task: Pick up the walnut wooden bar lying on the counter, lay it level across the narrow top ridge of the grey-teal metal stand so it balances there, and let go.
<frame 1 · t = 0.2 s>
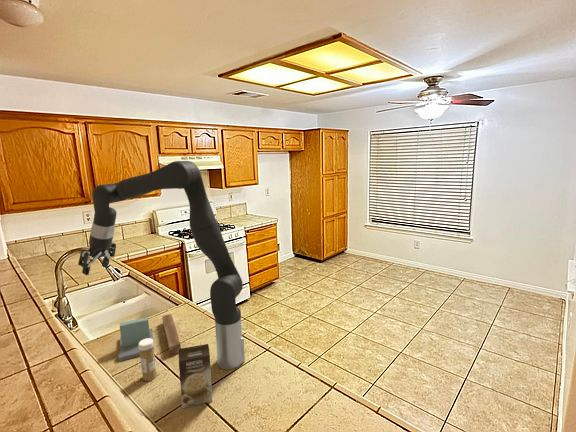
hand: (95, 270, 118), 31 cm above the counter, tool tilted 20°, fingers open, 8 cm apart
coffee box: (197, 398, 93), on the counter
walnut bar: (171, 337, 126), on the counter
ridge stand: (136, 345, 120), on the counter
sprinkles bottle: (149, 377, 103), on the counter
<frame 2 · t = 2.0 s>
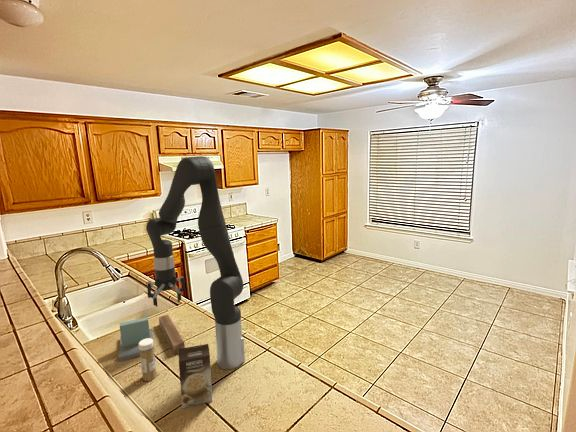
hand: (167, 303, 123), 15 cm above the counter, tool pointing down, fingers open, 8 cm apart
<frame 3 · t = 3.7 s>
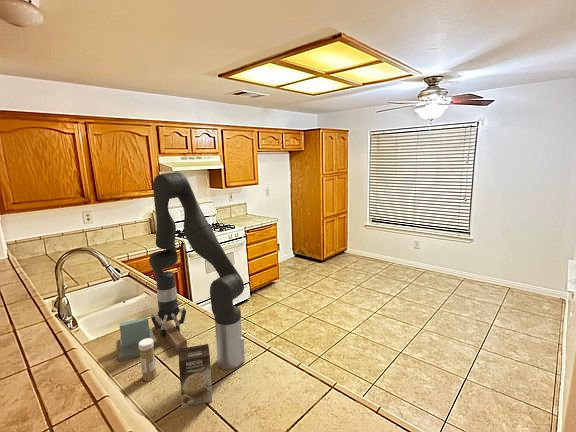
hand: (170, 334, 126), 1 cm above the counter, tool pointing down, fingers closed on walnut bar, 4 cm apart
walnut bar: (171, 336, 126), on the counter, touching gripper
everything else where it was.
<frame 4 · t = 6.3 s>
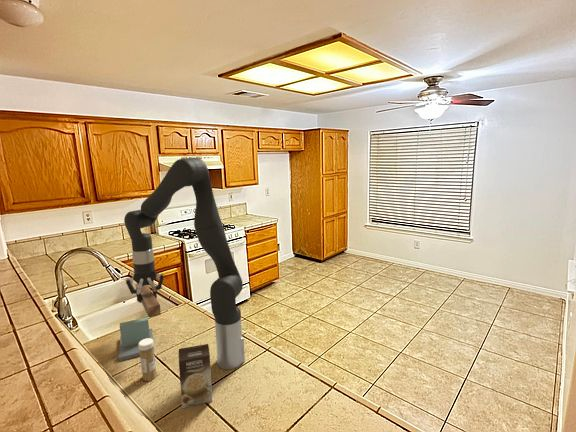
hand: (147, 300, 120), 18 cm above the counter, tool pointing down, fingers closed on walnut bar, 4 cm apart
walnut bar: (147, 302, 120), point 17 cm above the counter, touching gripper
everything else where it was.
when the fingers open (12 cm above the counter, at t = 8.9 s): walnut bar stays where it is, resting on ridge stand.
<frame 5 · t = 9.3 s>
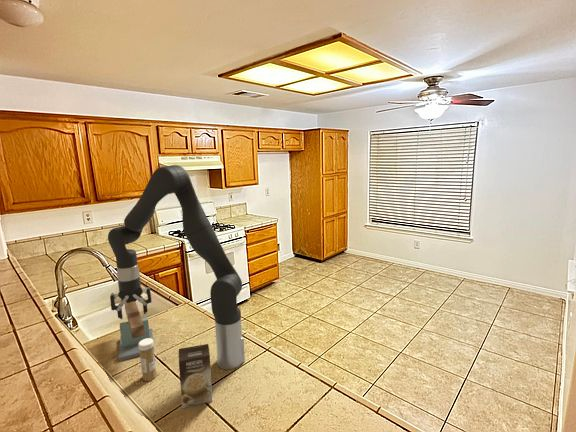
hand: (133, 315, 118), 13 cm above the counter, tool pointing down, fingers open, 8 cm apart
walnut bar: (134, 321, 118), point 10 cm above the counter, touching ridge stand
everything else where it was.
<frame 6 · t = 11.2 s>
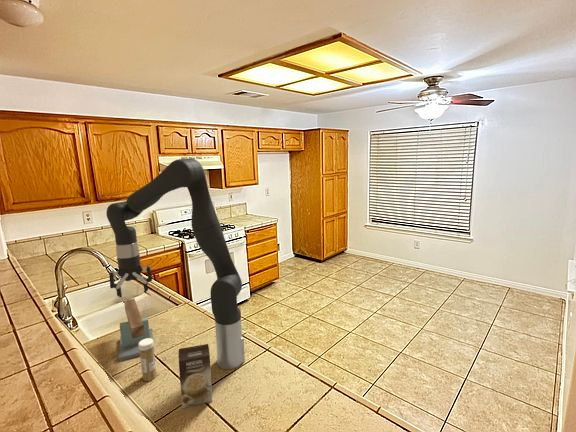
hand: (133, 294, 115), 22 cm above the counter, tool pointing down, fingers open, 8 cm apart
nothing on the counter moved.
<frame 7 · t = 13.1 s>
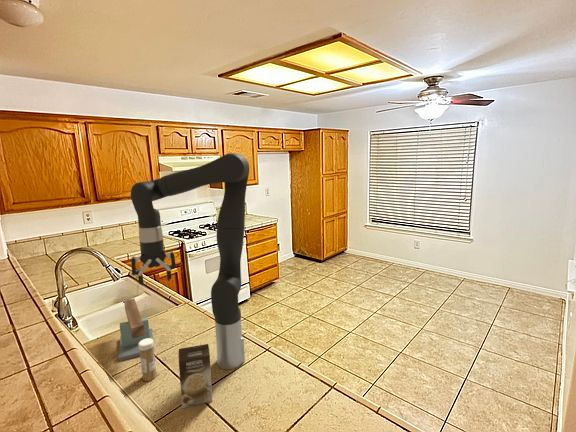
hand: (155, 282, 107), 30 cm above the counter, tool pointing down, fingers open, 8 cm apart
nothing on the counter moved.
at the end: walnut bar 0.3 cm off-centre on the ridge stand, point 10.5 cm above the ridge stand's base; walnut bar tilted 0°; walnut bar touching ridge stand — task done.
